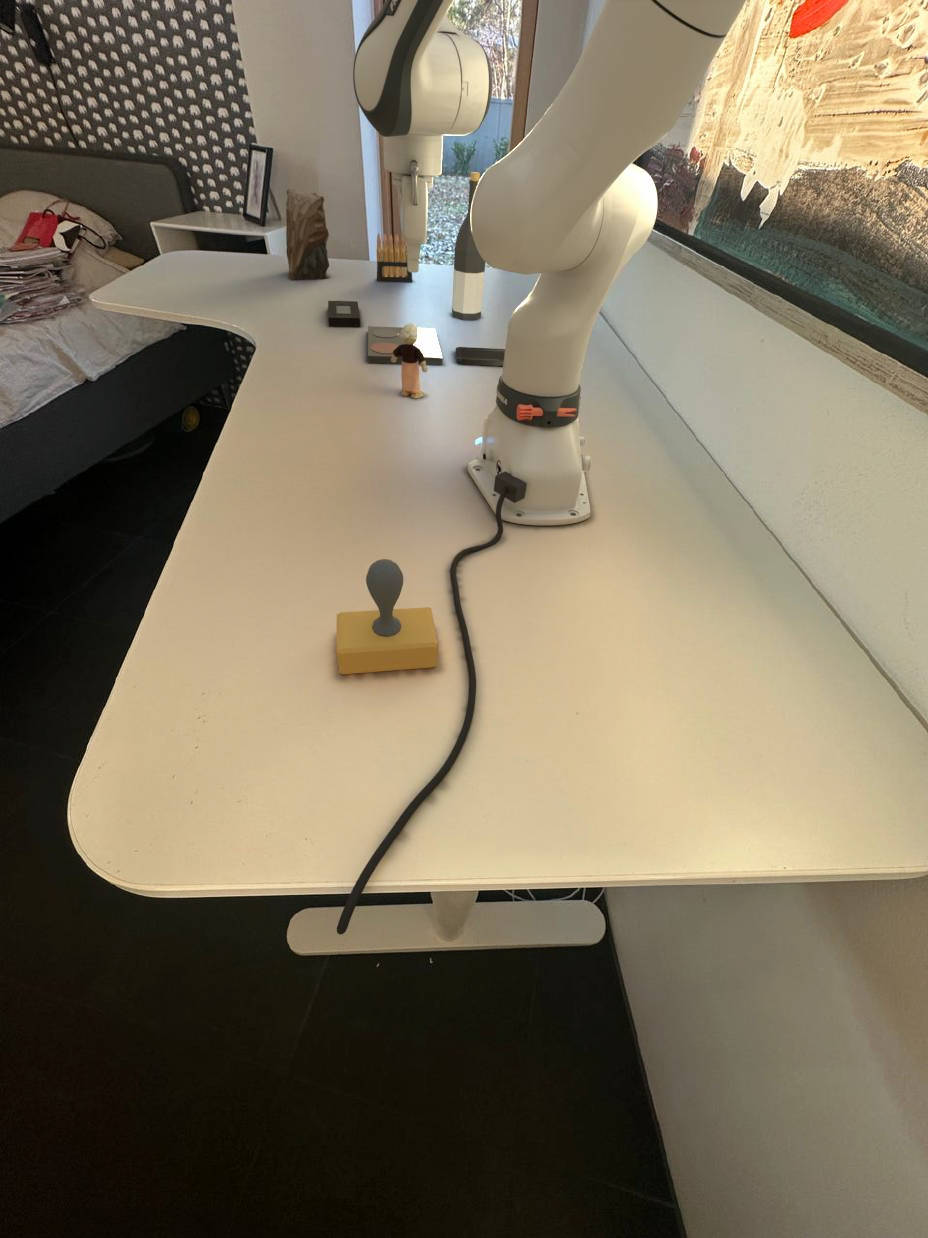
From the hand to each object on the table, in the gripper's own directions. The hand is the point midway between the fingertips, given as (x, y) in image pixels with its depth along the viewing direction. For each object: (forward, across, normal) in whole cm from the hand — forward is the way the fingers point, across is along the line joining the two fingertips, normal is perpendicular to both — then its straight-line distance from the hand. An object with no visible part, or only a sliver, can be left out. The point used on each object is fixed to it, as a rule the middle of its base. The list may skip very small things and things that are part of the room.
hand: (411, 264), depth 92 cm
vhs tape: (+23, +46, +15) cm, 54 cm away
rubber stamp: (+21, -69, +5) cm, 72 cm away
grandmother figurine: (+22, -1, 0) cm, 22 cm away
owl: (+23, +86, +29) cm, 94 cm away
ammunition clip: (+23, +85, +2) cm, 88 cm away
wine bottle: (+22, +53, -17) cm, 60 cm away
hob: (+22, +25, +1) cm, 34 cm away
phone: (+22, +20, -18) cm, 35 cm away
